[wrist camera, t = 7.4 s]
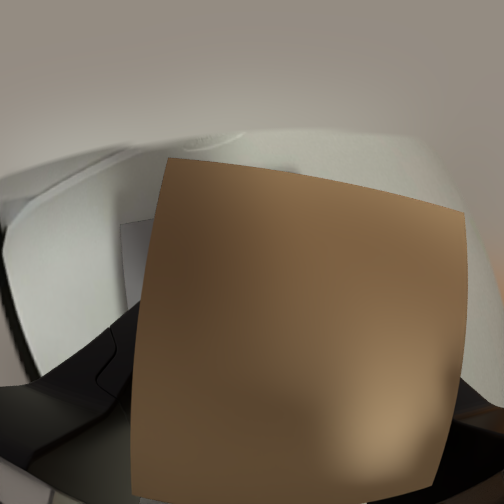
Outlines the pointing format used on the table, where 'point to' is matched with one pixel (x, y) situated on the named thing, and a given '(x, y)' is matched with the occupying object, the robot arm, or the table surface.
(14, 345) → the table surface
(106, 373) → the robot arm
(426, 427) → the oak block
